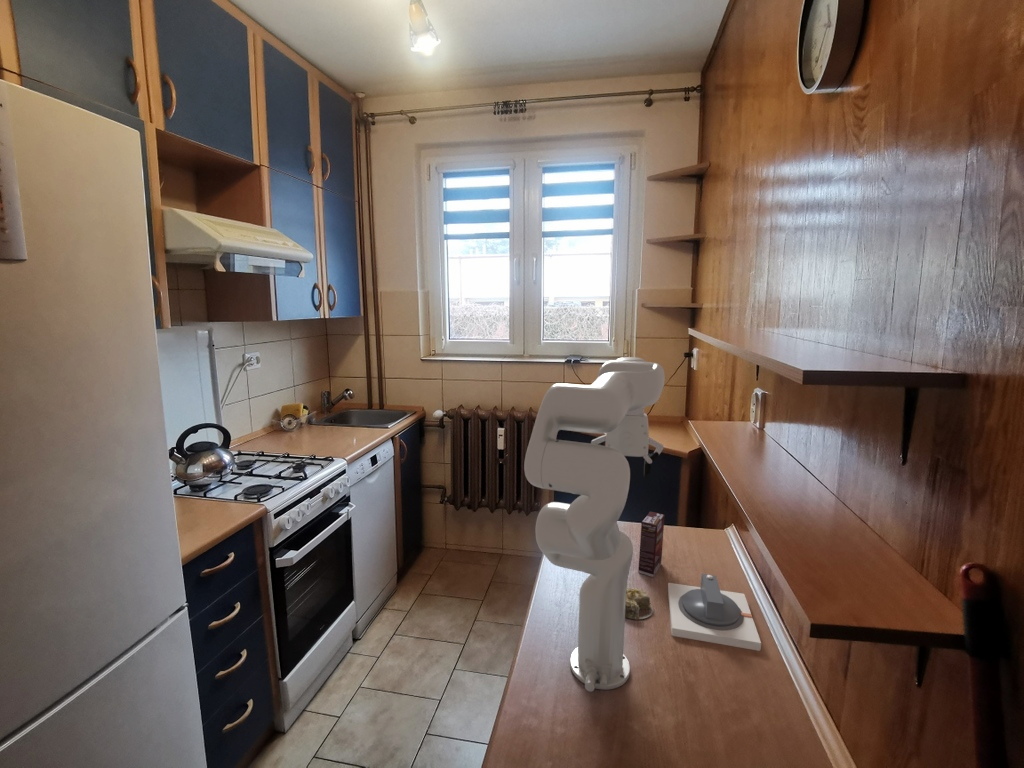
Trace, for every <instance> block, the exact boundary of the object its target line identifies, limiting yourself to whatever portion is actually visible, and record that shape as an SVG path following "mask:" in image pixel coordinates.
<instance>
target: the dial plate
mask: <svg viewBox="0 0 1024 768" xmlns="http://www.w3.org/2000/svg"><path fill="white" fill-rule="evenodd" d="M700 588H701V586H692V585H688V584H687V585H686V584H680V583H673V582H668V583H667V594H668V595H667V596H668V607H669V619H670V620H669V621H670V633H671V636H673V637H677V638H684V639H689V640H695V641H701V642H707V643H713V644H719V645H724V646H730V647H733V648H734V647H735V648H741V649H747V650H753V651H757V652H758V651H759V652H761V647H762V642H761V638H760V635H759V633H758V629H757V627H756V624H755V621H754V619H753V615H752V611H751V610H750V606H749V603H748V601H747V598H746V595H745V593H740V592H735V591H727V590H721V589H720V592H721V593H722V594H724V595H726V596H727V597H729V598H731V599H732V600H733V601H734V602H735V603H736V604H737V606H738V607H739V611H740V613H739V619H738V621H737V622H736V623H735V624H733V625H730V626H713V625H708V624H705V623H702V622H700V621H698V620H696V619H694V618H693V617H691V616H690V615H689V614H688V613H687V612H686V611H685V609H684V607H683V596H684V594H685V593H686V592H688V591H690V590H694V589H700Z"/></svg>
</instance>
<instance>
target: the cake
mask: <svg viewBox="0 0 1024 768" xmlns="http://www.w3.org/2000/svg"><path fill="white" fill-rule="evenodd" d="M651 604H652V603H651V597H650V596H649V594H648V592H646V591H644V590H643V589H639V588H635V587H634V588H633V587H627V589H626V606H625V618H626V619H631V620H643V619H648V618H650V617H651V616H652V615H653V613H654V608H653V606H652V605H651ZM640 610H649V611H648V612H647V613H646V614H645V615H643V616H640Z"/></svg>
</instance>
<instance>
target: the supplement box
mask: <svg viewBox="0 0 1024 768" xmlns="http://www.w3.org/2000/svg"><path fill="white" fill-rule="evenodd" d="M640 525H641V526H640V527H641V528H640V542H639V555H638V556H639V557H638V570H637V573H639V574H640V575H645V576H648V577H652V578H654V577H655V575H656V574H657V572H658V570H659V568H660V567H661V565H662V557H663V546H664V545H663V544H664V530H665V529H664V527H665V514H662V513H659V512H654V511H649V512H648V514H647V515H646V517H645V518H644V519H643V520H642V521H641V524H640Z"/></svg>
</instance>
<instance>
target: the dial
mask: <svg viewBox="0 0 1024 768" xmlns="http://www.w3.org/2000/svg"><path fill="white" fill-rule="evenodd" d="M700 577H701V578H700V587H701V588H700V589H694V590H690V591H688V592H686V593H685V594H684V596H683V607H684V609H685V611H686V612H687V613H688V614H689V615H690V616H691V617H693V618H694V619H696V620H698V621H700V622H702V623H705V624H708V625H713V626H730V625H733V624H735V623H736V622H737V621H738V619H739V613H740V611H739V607H738V606H737V604H736V603H735V602H734V601H733V600H732V599H731V598H729V597H727V596H726V595H724V594H722V593H721V592H720V590H721V589H720V585H719V582H718V578H717V575H716V574H715V575H714V574H706V573H701V575H700Z"/></svg>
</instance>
